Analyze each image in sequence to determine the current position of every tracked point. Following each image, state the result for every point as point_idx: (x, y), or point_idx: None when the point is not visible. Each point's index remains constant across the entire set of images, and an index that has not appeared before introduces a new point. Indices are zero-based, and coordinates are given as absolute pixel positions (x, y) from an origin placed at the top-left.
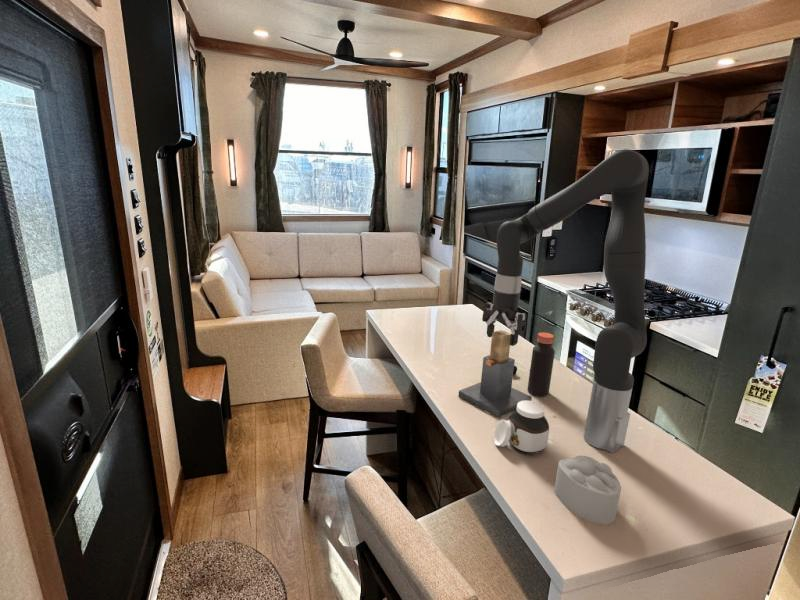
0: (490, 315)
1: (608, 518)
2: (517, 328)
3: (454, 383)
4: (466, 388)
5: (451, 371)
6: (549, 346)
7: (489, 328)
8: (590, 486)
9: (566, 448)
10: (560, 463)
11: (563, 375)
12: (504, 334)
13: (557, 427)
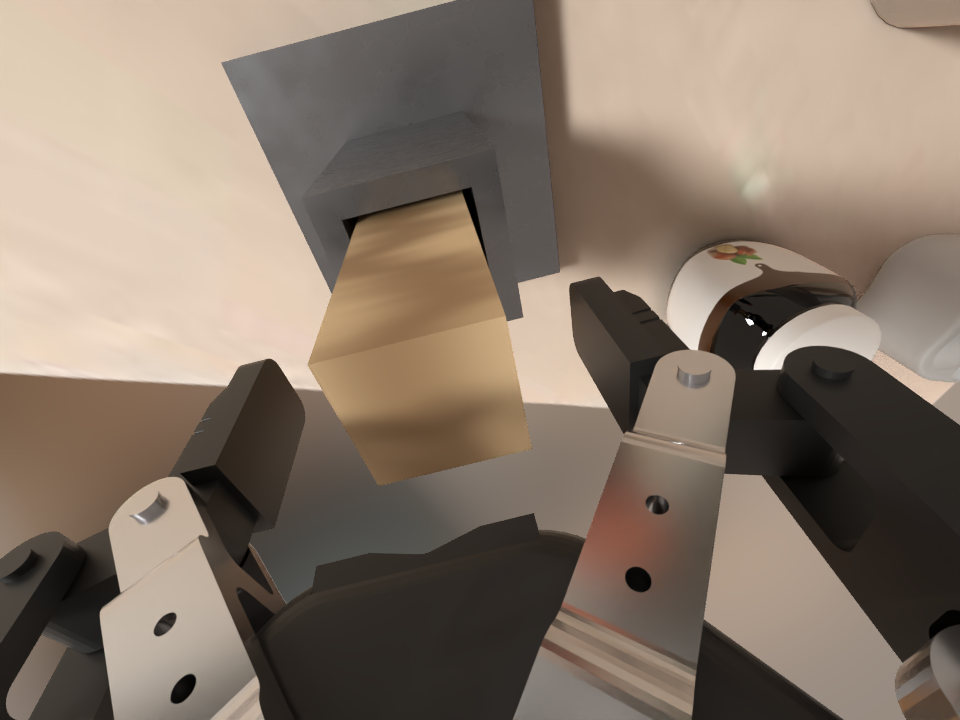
0: (11, 645)
1: None
2: (806, 519)
3: (219, 268)
4: (334, 286)
5: (49, 209)
6: None
7: (276, 497)
8: None
9: (823, 154)
10: (925, 371)
11: None
12: (483, 406)
13: (742, 58)
